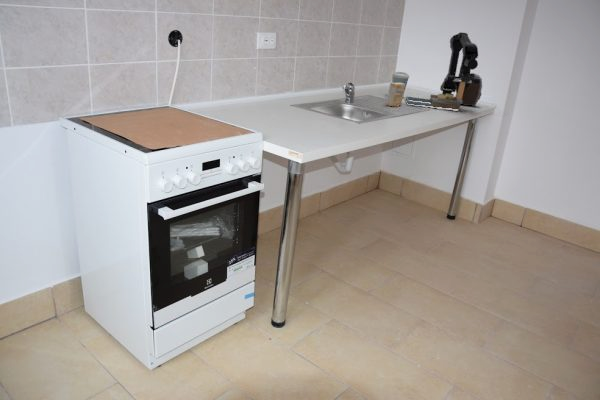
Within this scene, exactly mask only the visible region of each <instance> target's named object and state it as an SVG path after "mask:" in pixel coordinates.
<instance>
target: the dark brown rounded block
mask: <svg viewBox="0 0 600 400" xmlns="http://www.w3.org/2000/svg"><path fill="white" fill-rule="evenodd" d="M472 73H473V74H475V76H474V77H477V78H479V79H480V84H476V83H474V82H472V84H470V85H469V86H468V87H467V88H466V90H465V91H464V93H463V96H462V100H463V101H462V104H464V105H463V106H466V105H472V106H471V107H474V106H475V107H476V105H477V104H478V101H479V100H480V99H481V96H482V88H483V81H482V80H483V79H482V77H481V76H480V75H479V74H476V73H474V72H472ZM470 74H471V72H470ZM464 82H465V81H464Z"/></svg>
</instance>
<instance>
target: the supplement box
mask: <svg viewBox="0 0 600 400" xmlns="http://www.w3.org/2000/svg"><path fill="white" fill-rule="evenodd" d="M404 88H405V84H403V83H392V82H390V83H389V89H388V95H387V100H386V106H389V107H391V106H392V107H391V108H393V106H396V107H398V106H397V105H401V106H402V103H403V98H404V94H405V91H404ZM405 89H406V88H405Z"/></svg>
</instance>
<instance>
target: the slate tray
mask: <svg viewBox="0 0 600 400" xmlns="http://www.w3.org/2000/svg"><path fill="white" fill-rule="evenodd" d="M404 100H406V101H407V103H408V104H414V105H425V106H433V105H434V104H429V103H421V102H413V101H422V102H430V98H429V99H428V98H421V97H413V96H405V99H404ZM409 100H413V101H409ZM406 101H405V102H406ZM407 103H406V104H407Z"/></svg>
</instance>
